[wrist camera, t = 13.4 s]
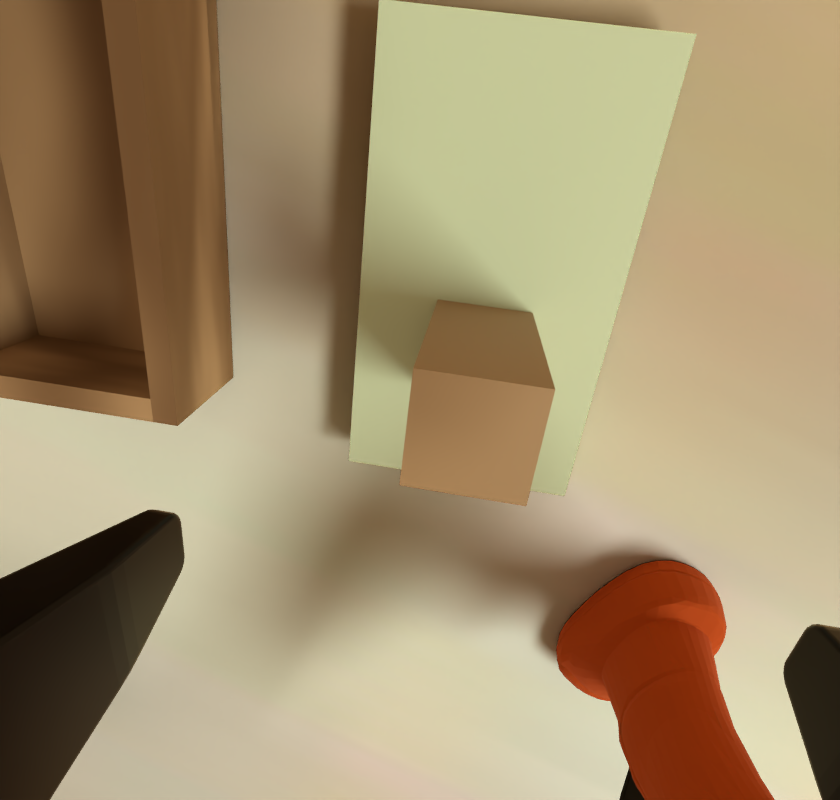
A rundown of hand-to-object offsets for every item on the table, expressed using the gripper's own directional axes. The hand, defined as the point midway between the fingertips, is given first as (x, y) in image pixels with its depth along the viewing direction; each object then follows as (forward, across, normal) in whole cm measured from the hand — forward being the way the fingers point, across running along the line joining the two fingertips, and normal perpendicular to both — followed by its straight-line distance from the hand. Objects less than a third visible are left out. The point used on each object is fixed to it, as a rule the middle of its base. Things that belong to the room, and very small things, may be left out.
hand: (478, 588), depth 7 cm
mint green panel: (+11, 0, -2) cm, 11 cm away
